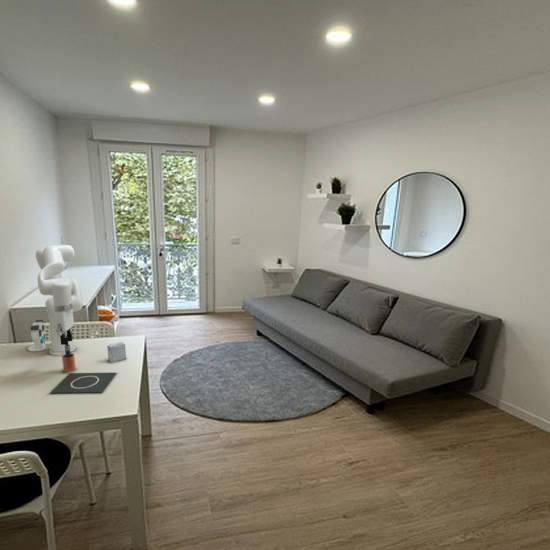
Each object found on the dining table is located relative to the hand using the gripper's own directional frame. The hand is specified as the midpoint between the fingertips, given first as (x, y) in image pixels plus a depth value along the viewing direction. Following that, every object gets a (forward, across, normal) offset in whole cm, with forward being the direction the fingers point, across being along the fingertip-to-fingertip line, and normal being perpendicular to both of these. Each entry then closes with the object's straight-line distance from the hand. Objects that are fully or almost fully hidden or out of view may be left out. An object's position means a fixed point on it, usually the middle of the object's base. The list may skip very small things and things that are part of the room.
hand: (66, 342), depth 174 cm
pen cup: (+15, 0, 0) cm, 15 cm away
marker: (+14, 0, 0) cm, 14 cm away
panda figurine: (+16, -28, -30) cm, 44 cm away
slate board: (+15, +14, +13) cm, 24 cm away
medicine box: (+15, -12, +19) cm, 27 cm away
